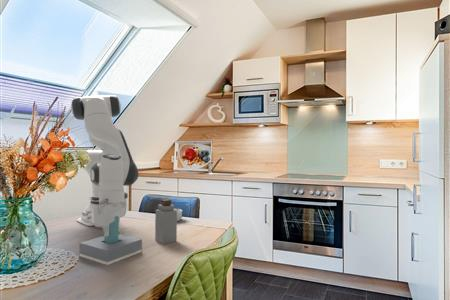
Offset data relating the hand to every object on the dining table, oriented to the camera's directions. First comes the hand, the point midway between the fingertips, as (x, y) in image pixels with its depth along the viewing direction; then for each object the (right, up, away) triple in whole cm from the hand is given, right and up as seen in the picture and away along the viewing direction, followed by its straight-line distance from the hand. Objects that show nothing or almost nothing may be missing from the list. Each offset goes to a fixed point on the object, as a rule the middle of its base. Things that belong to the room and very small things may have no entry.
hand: (111, 233), depth 118 cm
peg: (0, -6, 0) cm, 6 cm away
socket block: (0, -8, 0) cm, 8 cm away
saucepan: (+13, -8, +59) cm, 61 cm away
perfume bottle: (+18, -8, +18) cm, 26 cm away
